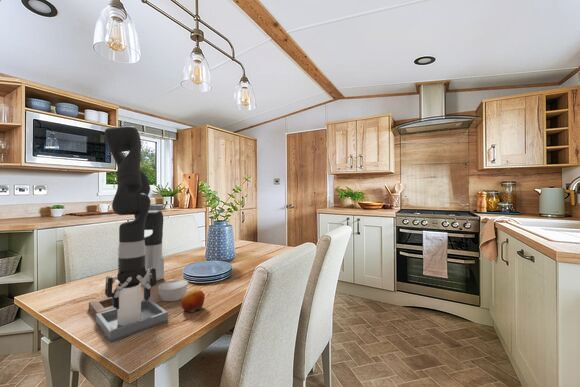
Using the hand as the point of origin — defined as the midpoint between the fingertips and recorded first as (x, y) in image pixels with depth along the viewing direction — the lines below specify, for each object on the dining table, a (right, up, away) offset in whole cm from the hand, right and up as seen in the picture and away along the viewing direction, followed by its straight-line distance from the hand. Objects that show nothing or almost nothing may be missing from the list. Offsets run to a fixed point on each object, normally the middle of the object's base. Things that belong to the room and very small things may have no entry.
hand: (132, 303), depth 84 cm
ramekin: (+4, -6, +20) cm, 22 cm away
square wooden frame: (-13, -6, +10) cm, 17 cm away
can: (0, -6, -1) cm, 6 cm away
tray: (0, -6, 0) cm, 6 cm away
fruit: (+16, -6, +10) cm, 20 cm away
